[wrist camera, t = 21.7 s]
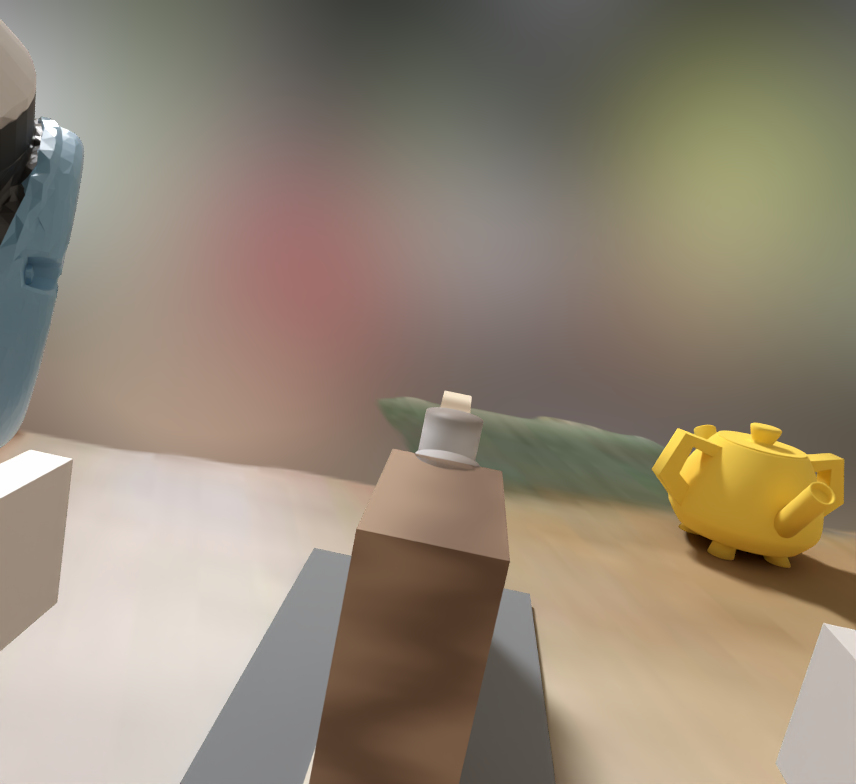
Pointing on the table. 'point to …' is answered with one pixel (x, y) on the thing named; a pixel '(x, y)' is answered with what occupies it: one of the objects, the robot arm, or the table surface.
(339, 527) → the table surface
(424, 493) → the brown rectangular block
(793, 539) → the teapot
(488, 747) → the mat
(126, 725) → the table surface
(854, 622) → the table surface
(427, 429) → the birch hinge leaf
